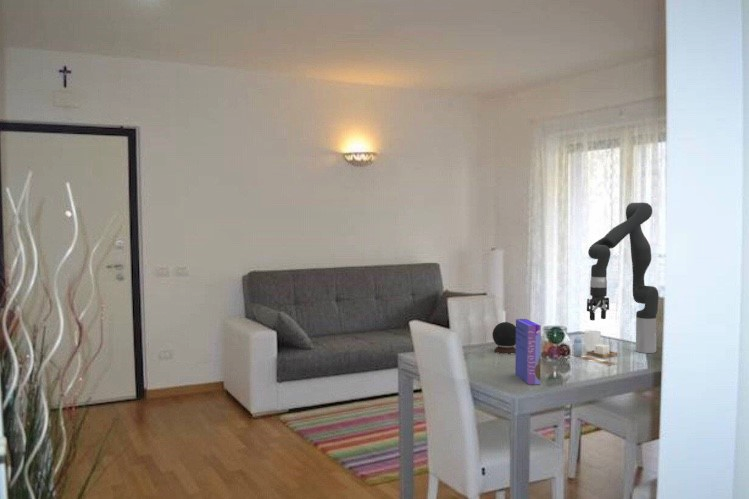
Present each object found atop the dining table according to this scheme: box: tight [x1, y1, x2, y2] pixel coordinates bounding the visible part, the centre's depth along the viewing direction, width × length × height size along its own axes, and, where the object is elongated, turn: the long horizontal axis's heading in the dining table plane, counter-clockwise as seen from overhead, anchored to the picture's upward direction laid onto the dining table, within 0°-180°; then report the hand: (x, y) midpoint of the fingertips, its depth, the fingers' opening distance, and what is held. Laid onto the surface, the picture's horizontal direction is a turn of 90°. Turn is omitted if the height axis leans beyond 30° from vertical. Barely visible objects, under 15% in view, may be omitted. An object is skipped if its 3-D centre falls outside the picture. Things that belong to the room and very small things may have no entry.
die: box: [594, 343, 610, 355], centre depth 303 cm, size 5×5×5 cm
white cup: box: [583, 329, 602, 352], centre depth 316 cm, size 8×8×10 cm
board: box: [569, 354, 617, 367], centre depth 294 cm, size 7×22×1 cm, turn 34°
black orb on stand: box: [492, 321, 516, 355], centre depth 315 cm, size 13×13×15 cm
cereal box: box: [514, 318, 542, 386], centre depth 259 cm, size 17×5×24 cm, turn 5°
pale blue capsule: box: [573, 336, 583, 357], centre depth 301 cm, size 4×4×9 cm
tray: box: [586, 350, 618, 360], centre depth 303 cm, size 10×10×2 cm
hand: (597, 319), depth 302 cm, fingers open, 8 cm apart
